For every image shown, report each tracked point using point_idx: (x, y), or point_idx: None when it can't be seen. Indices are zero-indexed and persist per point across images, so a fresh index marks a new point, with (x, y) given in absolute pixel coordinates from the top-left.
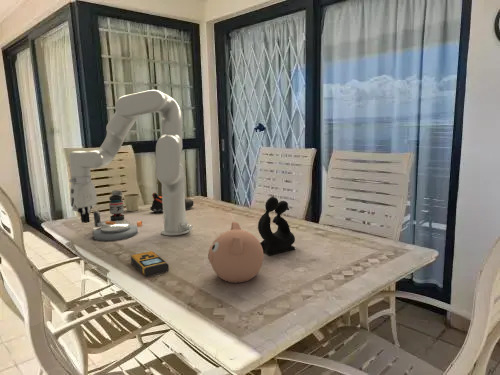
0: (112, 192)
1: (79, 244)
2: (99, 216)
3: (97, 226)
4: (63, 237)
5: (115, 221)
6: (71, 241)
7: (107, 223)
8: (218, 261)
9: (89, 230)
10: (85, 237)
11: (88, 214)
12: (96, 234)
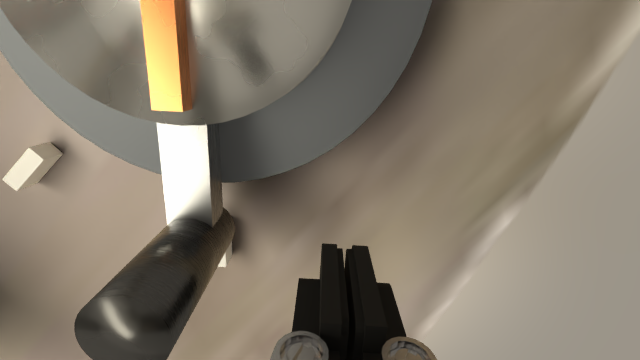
0: None
1: (569, 64)
2: (147, 254)
3: (226, 212)
4: (431, 320)
5: (70, 43)
6: (504, 195)
7: (190, 72)
8: None
9: (233, 288)
10: (388, 175)
11: (328, 308)
12: (416, 26)
